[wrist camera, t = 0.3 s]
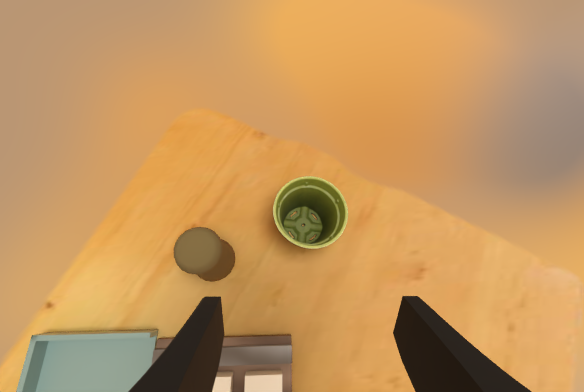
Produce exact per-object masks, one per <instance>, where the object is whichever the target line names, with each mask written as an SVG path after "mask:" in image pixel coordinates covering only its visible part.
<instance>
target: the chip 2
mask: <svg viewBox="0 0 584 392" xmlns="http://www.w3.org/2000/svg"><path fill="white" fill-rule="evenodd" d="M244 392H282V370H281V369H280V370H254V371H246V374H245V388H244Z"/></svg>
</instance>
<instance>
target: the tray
mask: <svg viewBox="0 0 584 392" xmlns="http://www.w3.org/2000/svg"><path fill="white" fill-rule="evenodd" d="M157 335H158V330H126V331H85V332H48V333H42V334H37V335H32V337H31V341H30V344H29V348H28V351H27V355H26V359H25V362H24V366H23V369H22V373H21V376H20V380H19V384H18V387H17V391H16V392H128V391H129V390H130V389H131V388H132V387H133V386H134V385H135V384H136V383H137V381H138V380H139V379H140V378H141V377H142V376H143V375H144V374H145V373H146V371H147V370H148V369H149V368H150V367H151V364H152V357H153V350H154V349H156V342H157Z"/></svg>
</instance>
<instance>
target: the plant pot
mask: <svg viewBox="0 0 584 392" xmlns="http://www.w3.org/2000/svg"><path fill="white" fill-rule="evenodd" d="M295 211H297V213H296V214H295V215H293V216H292V217H290V215H291V214H293V212H295ZM311 214H314V215H315V216H316V217H317V220H315V218H314V217H313V216H312V215H311ZM273 216H274V220H275V223H276V226H277V228H278V230H279V231H280V233H281V234H282V235H283V236H284V237H285V238H286V239H287V240H289V241H290V242H291V243H293V244H295V245H297V246H299V247H302V248H307V249H318V248H323V247H326V246H328V245H330V244H332V243H333V242H335V241H336V240H337V239H338V238H339V237H340V236H341V234H342V233H343V231H344V229H345V227H346V224H347V220H348V208H347V204H346V201H345V199H344V197H343V195H342V194H341V192H340V191H339V190H338V189H337V188H336V187H335V186H334V185H333V184H332V183H330V182H328V181H326V180H324V179H322V178H318V177H313V176H305V177H299V178H296V179H294V180H291V181H290V182H288V183H287V184H286V185H284V186H283V187H282V188H281V190H280V191H279V192H278V194H277V196H276V198H275V201H274V206H273ZM302 224H305V226H304V227H303V226H302ZM289 231H290V232H291V234H292V235H293V236H294V237H295V238H292V237H291V236H290V235H289ZM315 234H316V237H315V238H314V239H312V240H309V239H310V238H311V237H313V236H314V235H315Z"/></svg>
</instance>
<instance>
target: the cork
mask: <svg viewBox="0 0 584 392" xmlns="http://www.w3.org/2000/svg"><path fill="white" fill-rule="evenodd" d="M174 258H175V261H176V263H177V265H178V266H179V267H180V268H181V269H182V270H183V271H185V272H187V273H190V274H197V275H198V276H199V277H200V278H202V279H204V280H206V281H217V280H220V279H222V278H224V277H226V276H227V275H228V274H229V273H230V272H231V270H232V268H233V267H234V263H235V253H234V251H233V248H232V247H231V246H230V245H229V243H228V242H226V241H224V240H222V239H220V237H219V236H218V235H217V234H216V233H215V232H214V231H212V230H210V229H208V228H204V227H197V228H191V229H189V230H187V231H185V232H184V233H183V234H182V235H181V236H180V237H179V238H178V240H177V241H176V243H175V247H174Z"/></svg>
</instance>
